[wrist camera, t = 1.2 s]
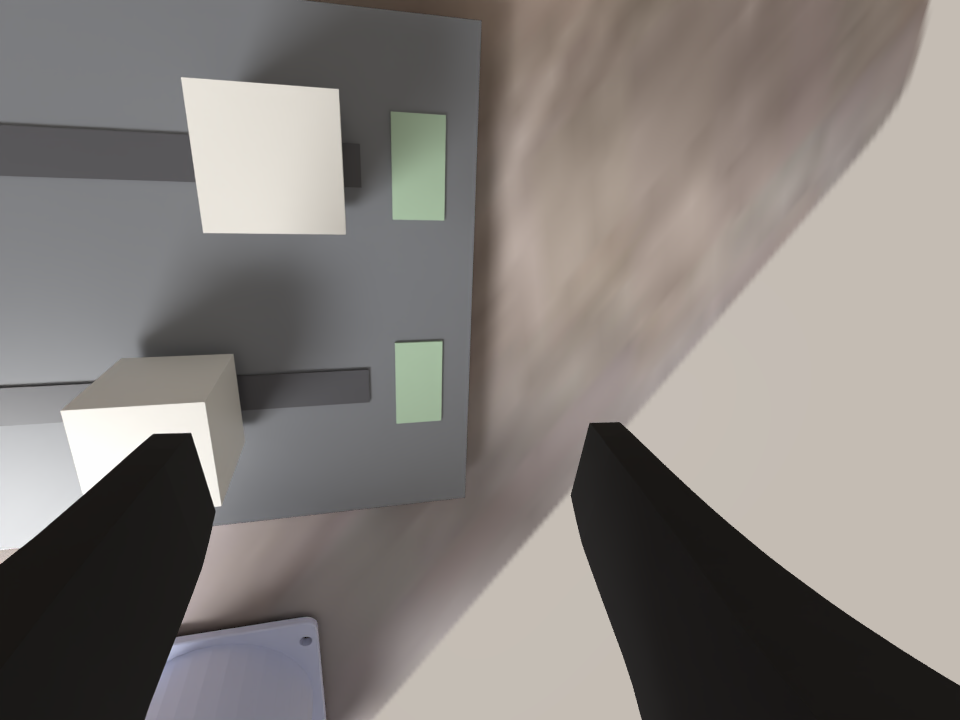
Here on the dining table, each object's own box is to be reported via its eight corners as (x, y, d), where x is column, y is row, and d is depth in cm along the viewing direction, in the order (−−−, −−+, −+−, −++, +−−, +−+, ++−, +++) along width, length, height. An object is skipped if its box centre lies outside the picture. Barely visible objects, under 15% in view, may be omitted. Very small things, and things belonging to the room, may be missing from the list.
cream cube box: (345, 220, 15) (345, 234, 12) (234, 218, 14) (203, 233, 11) (339, 106, 14) (338, 89, 11) (220, 98, 13) (180, 77, 10)
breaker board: (457, 476, 21) (465, 499, 20) (-71, 530, 17) (-110, 564, 16) (469, 33, 16) (482, 19, 14) (-306, -51, 12) (-399, -82, 10)
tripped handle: (245, 440, 17) (221, 506, 13) (140, 449, 16) (89, 520, 13) (233, 353, 16) (204, 401, 12) (121, 358, 15) (60, 410, 12)
